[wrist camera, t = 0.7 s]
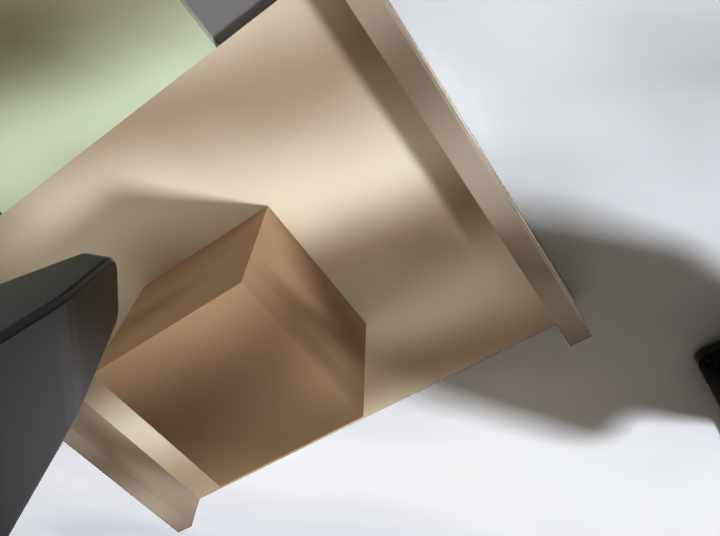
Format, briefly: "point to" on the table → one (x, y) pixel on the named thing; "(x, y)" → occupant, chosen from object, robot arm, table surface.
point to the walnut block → (240, 352)
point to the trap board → (260, 186)
